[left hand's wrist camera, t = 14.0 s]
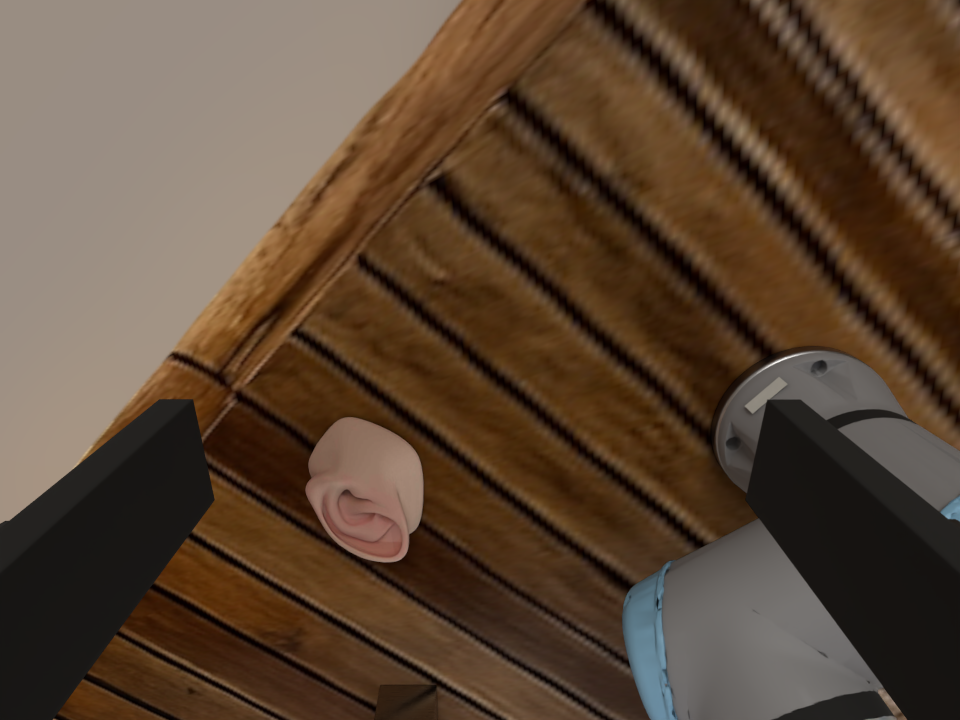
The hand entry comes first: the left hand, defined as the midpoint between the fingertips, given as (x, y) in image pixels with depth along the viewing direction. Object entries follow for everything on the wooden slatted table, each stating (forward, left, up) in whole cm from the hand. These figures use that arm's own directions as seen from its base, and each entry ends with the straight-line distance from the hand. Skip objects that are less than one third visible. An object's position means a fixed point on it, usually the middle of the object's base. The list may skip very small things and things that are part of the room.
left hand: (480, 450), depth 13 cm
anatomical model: (-7, +25, -34) cm, 43 cm away
